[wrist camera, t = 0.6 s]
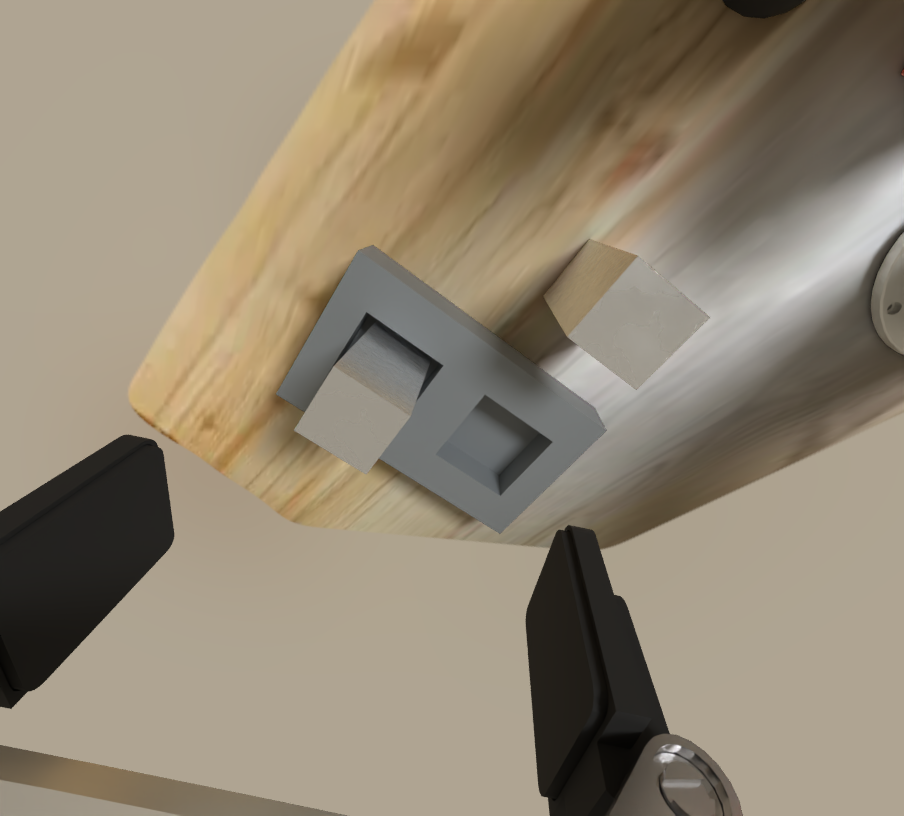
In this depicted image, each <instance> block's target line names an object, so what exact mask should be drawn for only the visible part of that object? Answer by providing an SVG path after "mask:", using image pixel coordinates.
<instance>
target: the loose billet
mask: <svg viewBox="0 0 904 816" xmlns="http://www.w3.org/2000/svg"><path fill="white" fill-rule="evenodd" d="M543 297H544V299H545V301H546V302H547V304H548V306H549V307H550V309H551V311H552V312H553V314H554V316H555V317H556V319H557V321H558V323H559V324H560V326H561V328H562V329H563V331H564V333H565V334H566V336H567V337H568V338H569V339H570V340H572V341H573V342H574V343H575V344H577V345H578V346H579V347H581V348H582V349H583V350H585V351H586V352H587V353H589V354H590V355H591V356H592V357H594V358H595V359H596V360H598V361H599V362H600V363H602V364H603V365H604V366H606V367H607V368H608V369H609V370H611V371H612V372H613V373H615V374H616V375H617V376H619V377H620V378H621V379H623V380H624V381H625V382H626V383H628V384H629V385H630V386H632V387H633V388H634V389H636V390H637V389H638V388H639V387H640V386H641V385H642V384H643V383H644V382H645V381H646V380H647V379H648V378H649V377H650V376H651V375H652V374H653V373H654V372H655V371H656V370H657V369H658V368H659V367H660V366H661V365H662V364H663V363H664V362H665V361H666V360H667V359H668V358H669V357H670V356H671V355H672V354H673V353H674V352H675V351H676V350H677V349H678V348H680V347H681V346H682V345H683V344H684V343H685V342H686V341H687V340H688V339H689V338H690V337H691V336H692V335H693V334H694V333H695V332H696V331H697V330H698V329H699V328H700V327H701V326H702V325H703V324H704V323H705V322H706V321H707V320H708V319H709V318H710V317H709V316H708V315H707V314H706V313H705V312H703V311H702V310H701V309H700V308H699V307H698V306H696V305H695V304H694V303H693V302H692V301H691V300H689V299H688V298H687V297H686V296H685V295H683V294H682V293H681V292H680V291H679V290H678V289H676V288H675V287H674V286H673V285H672V284H671V283H669V282H668V281H667V280H666V279H665V278H663V277H662V276H661V275H660V274H659V273H658V272H656V271H655V270H654V269H653V268H652V267H650V266H649V265H648V264H647V263H646V262H645V261H643V260H642V259H641V258H640V257H639V256H637V255H634V254H631V253H628V252H625V251H623V250H620V249H617V248H614V247H611V246H608V245H605V244H603V243H600V242H597V241H594V240H591V239H589V240H588V241H587V242H586V244H585V245H584V246H583V247H582V249H581V250H580V251H579V252H578V254H577V255H576V256H575V257H574V259H573V260H572V261H571V262H570V264H569V265H568V266H567V267H566V268H565V270H564V271H563V272H562V273H561V275H560V276H559V277H558V278H557V280H556V281H555V282H554V283H553V285H552V286H551V287H550V288H549V290H548V291H547V292H546V293H545V294H544V296H543Z"/></svg>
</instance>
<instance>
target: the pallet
mask: <svg viewBox="0 0 904 816" xmlns="http://www.w3.org/2000/svg"><path fill="white" fill-rule="evenodd" d="M377 320H379V321H380V322H382V323H383V324H385V325H386V326H387V327H389V328H390V329H392V330H393V331H395V332H396V333H397V334H399V335H400V336H402V337H403V338H405V339H406V340H407V341H409V342H410V343H412V344H413V345H415V346H416V347H418V348H419V349H420V350H422V351H423V352H425V353H426V354H428V355H429V356H430V357H432V359H431V362H430V365H429V367H428V370H427V373H426V376H425V378H424V381H423V384H422V386H421V389H420V392H419V395H418V397H417V400H416V403H415V406H414V408H413V411H412V414H411V417H410V418H409V419H408V420H407V422H406V423H405V424H404V426H403V427H402V428H401V430H400V431H399V432H398V434H397V435H396V436H395V438H394V439H393V440H392V441H391V443H390V444H389V445H388V447H387V448H386V449H385V451H384V452H383V453H382V455H381V456H380V457H379V459H381V460H382V461H384V462H386V463H387V464H389V465H390V466H392V467H394V468H395V469H397V470H398V471H400V472H402V473H403V474H405V475H406V476H408V477H410V478H411V479H413V480H414V481H416V482H418V483H419V484H421V485H422V486H424V487H426V488H427V489H429V490H430V491H432V492H434V493H435V494H437V495H438V496H440V497H442V498H443V499H445V500H446V501H448V502H450V503H451V504H453V505H455V506H456V507H458V508H459V509H461V510H463V511H464V512H466V513H467V514H469V515H471V516H472V517H474V518H475V519H477V520H479V521H480V522H482V523H483V524H485V525H487V526H488V527H490V528H491V529H493V530H495V531H496V532H498V533H499V534H500V533H501V532H502V531H503V530H504V529H505V528H506V527H508V526H509V525H510V524H511V523H512V522H513V521H514V520H515V519H516V518H517V517H518V516H519V515H520V514H521V513H522V512H523V511H524V510H525V509H526V508H527V507H528V506H529V505H530V504H531V503H532V502H533V501H534V500H535V499H536V498H537V497H539V496H540V495H541V494H542V493H543V492H544V491H545V490H546V489H547V488H548V487H549V486H550V485H551V484H552V483H553V482H554V481H555V480H556V479H557V478H558V477H559V476H560V475H561V474H562V473H563V472H564V471H565V470H566V469H567V468H568V467H570V466H571V465H572V464H573V463H574V462H575V461H576V460H577V459H578V458H579V457H580V456H581V455H582V454H583V453H584V452H585V451H586V450H587V449H588V448H589V447H590V446H591V445H592V444H593V443H594V442H595V441H596V440H597V439H598V438H599V437H601V436H602V435H603V434H604V433H605V432H606V431H607V430H606V428H605V426H604V425H603V423H602V421H601V419H600V417H599V415H598V413H597V411H596V409H595V408H594V407H593V406H591V405H590V404H589V403H587V402H586V401H585V400H583V399H582V398H581V397H579V396H578V395H577V394H575V393H574V392H572V391H571V390H570V389H568V388H567V387H566V386H564V385H563V384H562V383H560V382H559V381H557V380H556V379H555V378H553V377H552V376H551V375H549V374H548V373H547V372H545V371H544V370H543V369H541V368H540V367H538V366H537V365H536V364H534V363H533V362H532V361H530V360H529V359H528V358H526V357H525V356H523V355H522V354H521V353H519V352H518V351H517V350H515V349H514V348H513V347H511V346H510V345H508V344H507V343H506V342H504V341H503V340H502V339H500V338H499V337H498V336H496V335H495V334H494V333H492V332H491V331H489V330H488V329H487V328H485V327H484V326H483V325H481V324H480V323H479V322H477V321H476V320H474V319H473V318H472V317H470V316H469V315H468V314H466V313H465V312H464V311H462V310H461V309H460V308H458V307H457V306H455V305H454V304H453V303H451V302H450V301H449V300H447V299H446V298H445V297H443V296H442V295H440V294H439V293H438V292H436V291H435V290H434V289H432V288H431V287H430V286H428V285H427V284H425V283H424V282H423V281H421V280H420V279H419V278H417V277H416V276H415V275H413V274H412V273H411V272H409V271H408V270H406V269H405V268H404V267H402V266H401V265H400V264H398V263H397V262H396V261H394V260H393V259H391V258H390V257H389V256H387V255H386V254H385V253H383V252H382V251H381V250H379V249H378V248H377V247H375V246H374V245H372V246H369V247H366V248H363V249H360V250H358V252H357V253H356V255H355V257H354V259H353V260H352V262H351V264H350V266H349V267H348V269H347V271H346V273H345V274H344V276H343V278H342V280H341V281H340V283H339V285H338V287H337V288H336V290H335V292H334V294H333V295H332V297H331V299H330V301H329V302H328V304H327V306H326V308H325V309H324V311H323V313H322V315H321V316H320V318H319V320H318V322H317V323H316V325H315V327H314V329H313V330H312V332H311V334H310V336H309V337H308V339H307V341H306V343H305V344H304V346H303V348H302V350H301V351H300V353H299V355H298V357H297V358H296V360H295V362H294V364H293V365H292V367H291V369H290V371H289V372H288V374H287V376H286V378H285V379H284V381H283V383H282V385H281V386H280V388H279V390H278V392H277V393H276V395H278V396H280V397H281V398H283V399H284V400H286V401H288V402H289V403H291V404H292V405H294V406H296V407H297V408H299V409H300V410H302V411H304V412H305V411H306V410H307V408H308V407H309V405H310V403H311V402H312V400H313V399H314V397H315V395H316V394H317V392H318V390H319V389H320V387H321V386H322V384H323V382H324V381H325V379H326V378H327V376H328V374H329V373H330V371H331V370H332V368H333V366H334V365H335V364H336V363H337V362H338V361H339V360H340V359H341V358H342V357H343V356H344V355H345V354H346V353H347V352H348V351H349V349H350V348H351V347H352V346H353V345H354V344H355V343H356V342H357V341H358V340H359V339H360V338H361V337H362V336H363V335H364V334H365V333H366V332H367V331H368V330H369V329H370V327H371V326H372V325H373V324H374V323H375V322H376V321H377Z"/></svg>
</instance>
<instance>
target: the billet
mask: <svg viewBox="0 0 904 816" xmlns="http://www.w3.org/2000/svg"><path fill="white" fill-rule="evenodd" d="M431 359H432V357H430V356H429V355H428V354H426V353H425V352H423V351H422V350H420V349H419V348H418V347H416V346H415V345H413V344H412V343H410V342H409V341H407V340H406V339H405V338H403V337H402V336H400V335H399V334H397V333H396V332H395V331H393V330H392V329H390V328H389V327H387V326H386V325H385V324H383V323H382V322H380V321H379V320H377V321H376V322H375V323H374V324H373V325H372V326H371V327H370V329H369V330H368V331H367V332H366V333H365V334H364V335H363V336H362V337H361V338H360V339H359V340H358V341H357V342H356V343H355V344H354V345H353V346H352V347H351V348H350V349H349V351H348V352H347V353H346V354H345V355H344V356H343V357H342V358H341V359H340V360H339V361H338V362H337V363H336V364H335V365H334V366H333V368H332V370H331V371H330V373H329V374H328V376H327V378H326V379H325V381H324V382H323V384H322V386H321V387H320V389H319V390H318V392H317V394H316V395H315V397H314V399H313V400H312V402H311V403H310V405H309V407H308V408H307V410H306V411H305V413H304V415H303V416H302V418H301V419H300V421H299V423H298V424H297V426H296V427H295V429H294V431H295V432H297V433H299V434H300V435H302V436H304V437H305V438H307V439H309V440H310V441H312V442H314V443H315V444H317V445H318V446H320V447H322V448H323V449H325V450H327V451H328V452H330V453H332V454H333V455H335V456H336V457H338V458H340V459H341V460H343V461H345V462H346V463H348V464H350V465H351V466H353V467H354V468H356V469H358V470H359V471H361V472H363V473H364V474H367V473H368V472H369V470H370V469H371V468H372V466H373V465H374V464H375V462H376V461H377V460H378V459H379V457H380V456H381V455H382V453H383V452H384V451H385V449H386V448H387V447H388V445H389V444H390V443H391V441H392V440H393V439H394V438H395V436H396V435H397V434H398V432H399V431H400V430H401V428H402V427H403V426H404V424H405V423H406V422H407V420H408V419H409V418H410V417H411V414H412V411H413V408H414V406H415V403H416V400H417V397H418V395H419V392H420V389H421V386H422V384H423V381H424V378H425V376H426V373H427V370H428V367H429V365H430V362H431Z"/></svg>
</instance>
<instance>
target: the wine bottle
mask: <svg viewBox="0 0 904 816" xmlns="http://www.w3.org/2000/svg"><path fill="white" fill-rule="evenodd" d="M804 1H806V0H723V2H724V3H725V5H726V6H727V7H729V8H731V9H732V10H734V11H736V12H737V13H739V14H741V15H742V16H746V17H755V18H768V17H771V16H775V15H779V14H782V13H786V12H788V11H789V10H791V9H793V8H794V7H796V6H798V5H799V4H801V3H802V2H804Z"/></svg>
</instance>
